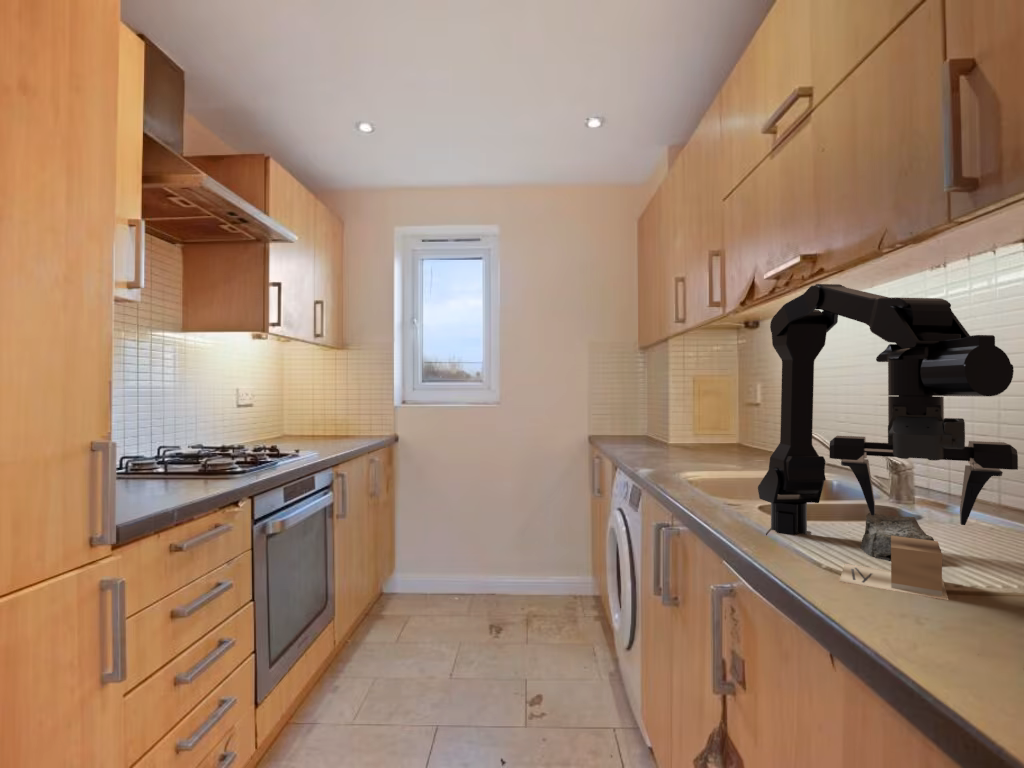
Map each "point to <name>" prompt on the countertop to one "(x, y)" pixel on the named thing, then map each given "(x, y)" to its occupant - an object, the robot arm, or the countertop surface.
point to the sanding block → (916, 565)
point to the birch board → (877, 579)
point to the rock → (888, 533)
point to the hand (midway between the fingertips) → (916, 519)
